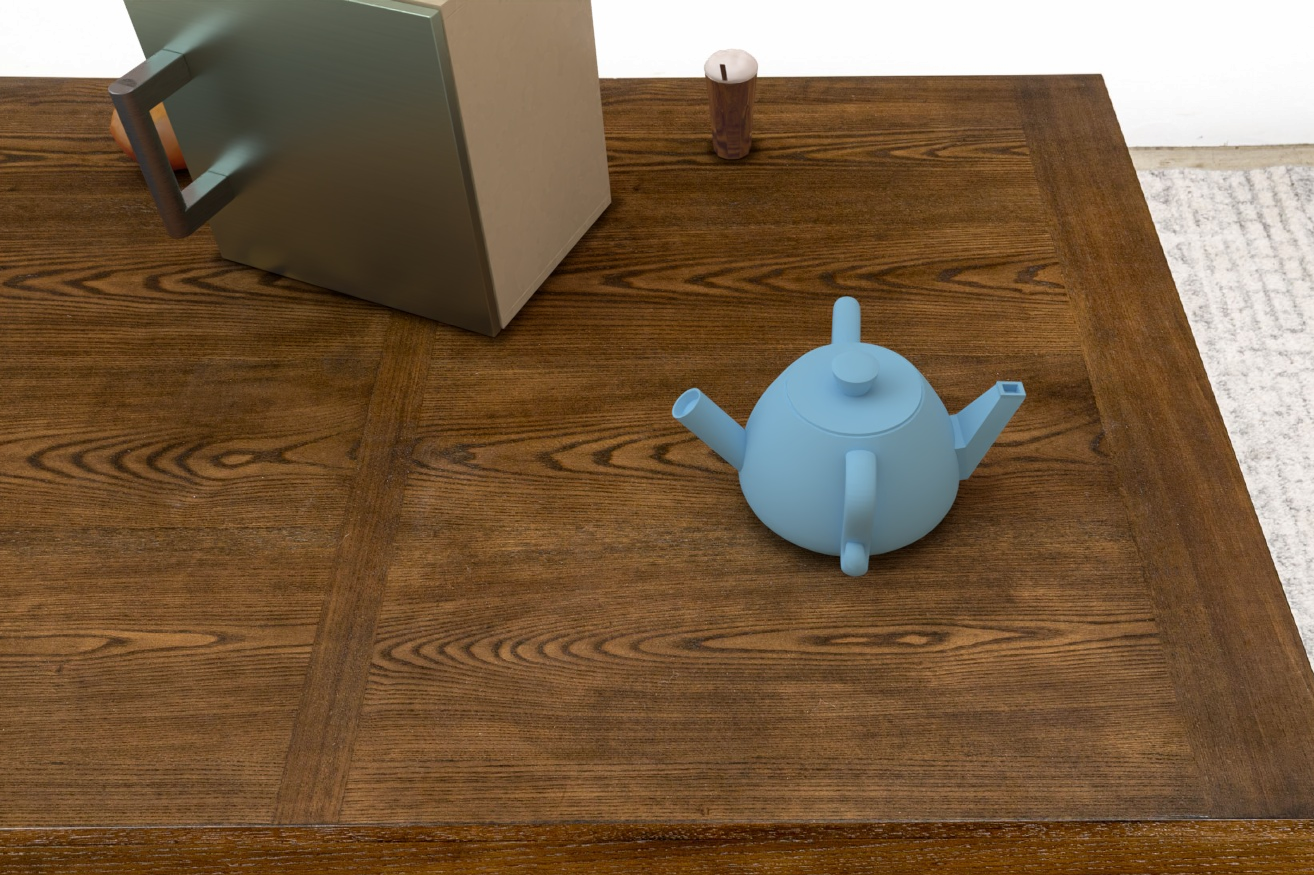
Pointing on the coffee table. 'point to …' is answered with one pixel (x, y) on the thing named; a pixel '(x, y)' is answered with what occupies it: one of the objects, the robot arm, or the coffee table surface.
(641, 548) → the coffee table surface
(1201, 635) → the coffee table surface
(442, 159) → the fridge door
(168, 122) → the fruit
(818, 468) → the teapot
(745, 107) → the milkshake
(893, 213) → the coffee table surface
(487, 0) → the box
